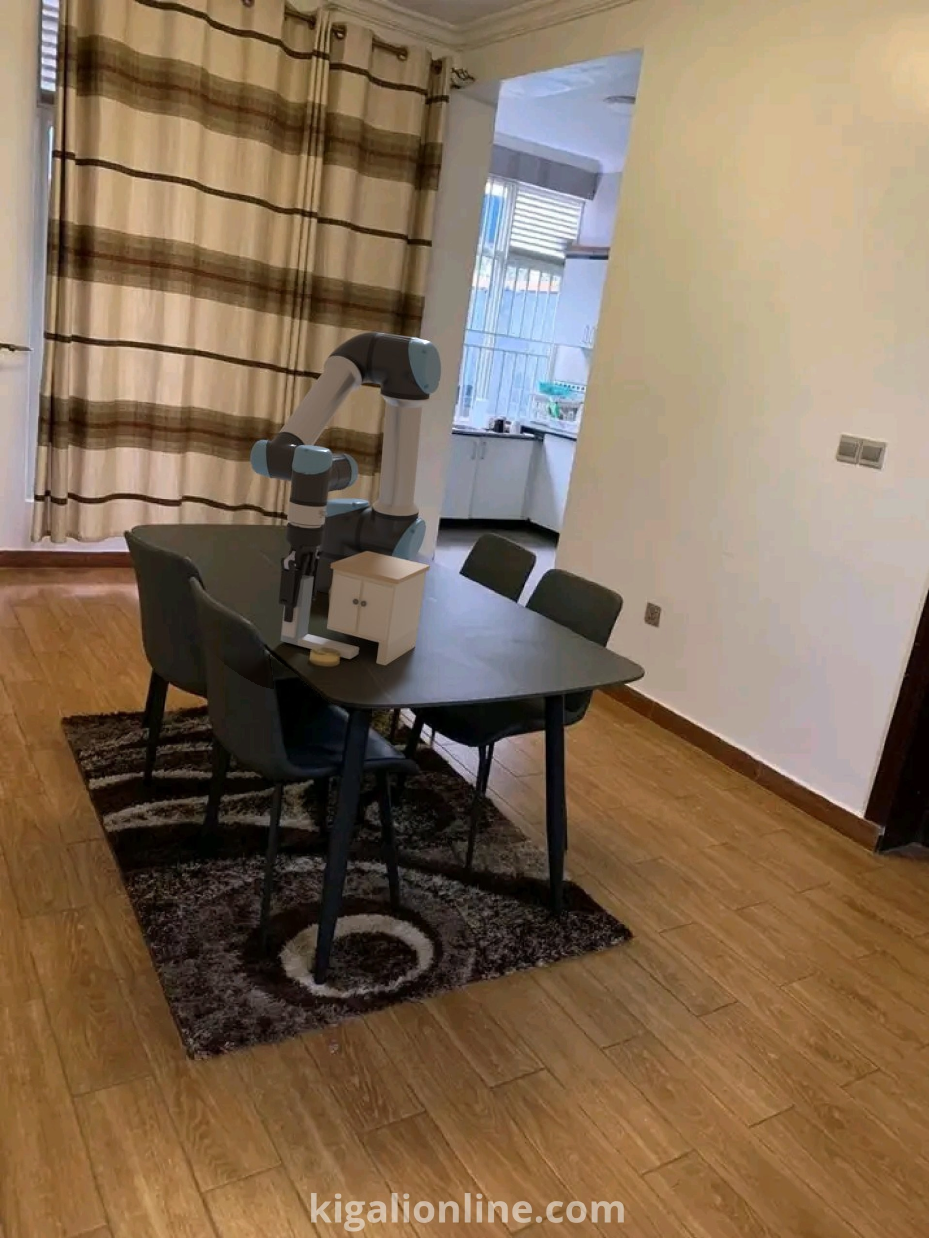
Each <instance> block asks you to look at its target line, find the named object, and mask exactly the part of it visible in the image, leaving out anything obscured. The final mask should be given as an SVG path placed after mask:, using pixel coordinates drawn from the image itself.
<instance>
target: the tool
mask: <svg viewBox="0 0 929 1238" xmlns="http://www.w3.org/2000/svg"><path fill="white" fill-rule="evenodd" d="M313 579H314V577H313V576H307V575H303V576H302V579H301V582H300V590H299V595H298V600H297V605H296V607H298V617H297V626H296V636H295V638H292V637H288V636H284V635H282V630H283V620H284V610H285V606H284V605H283V611H282V612H283V613H282V622H281V633H280V642H285V643H288V644H292V645H295V646H299V647H303V648H305V649H306V648H307V649H310V650H312V649H314V648H330V649H334V650H337V651H339V652H340V658H344V659H348V660H351V659H352V658H354V657H356V656H357V655H359V651H360V647H359V646H355V645H351V644H348V643H345V642H340V641H336V640H333V639H328V638H325V637H321V636H318V635H314V634H309V624H310V616H311V607H312V602H311V597H312V588H313ZM312 598H313V597H312Z"/></svg>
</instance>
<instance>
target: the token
mask: <svg viewBox="0 0 929 1238" xmlns="http://www.w3.org/2000/svg"><path fill="white" fill-rule="evenodd" d="M340 661H341V657H340V652H339V651H337V650H334V649H330V648H314V649H310V651H309V662H310V663H311V664H313V665H315V666H317V667H325V668H326V667H336V666H338V665H340Z"/></svg>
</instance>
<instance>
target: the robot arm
mask: <svg viewBox="0 0 929 1238" xmlns="http://www.w3.org/2000/svg"><path fill="white" fill-rule="evenodd" d="M441 364H442V362H441V357H440V353H439V351H438V349H437V347H436V345H435V344H434V343H433V342H432V341H429V340H426V339H422V338H418V337H416V336H415V337H414V336H407V335H398V334H391V333H383V332H379V331H369V332H368V331H366V332H362V333H360V334H357V335H355V336H352V337H350V338H349V339H347V340H345V341H344V342H343V343H341V344H339V346H338V347H336V348H335V349H334V350H333V351H332V352H331V353H330V355H329V356H328V357H327V359H326V360H325V361H324V363H323V372H322V373H321V374H320V376H319V377H318V378H317V380H316V381H315V382H314V384H313V385H312V386H311V387H310V389H309V390H308V392H307V393H306V395H305V396H304V397H303V399H302V400H301V401H300V403H299V404H298V405H297V407H296V409H295V410H294V411H293V413H292V414H291V415H290V416H289V418H288V419H287V421H286V422H284V425H283V426H282V428H281V429H280V430H279V431H278V433H277V434H276V435H275V436H274V438H273V439H272V440H270V439H260V440H257V441H256V442H255V443H254V445H253V447H252V449H251V451H250V456H249V457H250V458H249V459H250V462H249V463H250V465H251V468H252V470H253V472H254V473H255V474H257V475H260V476H263V477H267V478H269V479H275V480H282V481H285V482H290V489H289V490H290V491H289V493H290V494H289V501H288V509H287V516H286V517H287V518H286V519H287V520H288V523H286V528H285V541H287V543H289V544H290V548H289V551H288V556H287V557H286V558H285V557H281V559H280V567H281V568H280V569H281V571H280V583H279V584H280V585H279V597H278V604H279V605H281V606H283V607H284V606H285V610H284V609H283V610H284V620H283V619H282V620H283V630H282V629H281V631H282V635H284V636H288V637H292V638H295V636H296V626H297V617H298V607H296V605H297V600H298V595H299V590H300V582H301V579H302V576H303V575H307V576H313V577H314V579H313V588H312V597H311V603H314V602H315V601H316V596H317V592H321V593H325V594H329V590H330V588H331V585H332V580H333V571H334V569H332V568H331V563H334V562H336V561H339V560H342V559H345V558H348V557H351V556H354V555H357V554H360V553H362V552H365V551H370V552H374V553H378V554H383V555H387V556H391V557H395V558H400V559H404V560H408V561H412V560H414V558H416V556H417V555H418V553H419V551H420V549H421V547H422V545H423V542H424V539H425V535H426V529H427V525H426V521H425V519H423V518H422V517H419V511H420V509H419V508H420V507H418V506H417V505H416V504H415V502H414V500H415V499H414V498H415V488H416V480H417V479H416V477H417V476H416V475H417V467H418V466H417V465H418V456H419V455H418V454H419V446H420V445H419V444H420V443H419V442H420V432H421V425H422V424H421V423H422V421H421V420H422V412H423V406H424V404H426V403H427V402H428V401H429V400H430V395H431V394H433V393H435V392H436V391H437V390H438V388H439V385H440V381H441V377H442V376H441V374H442V366H441ZM366 383H372V384H376V385H380V390H379V391H380V393H379V395H380V396H381V397H382V398H383V400H384V401H385V410H384V411H385V412H384V413H385V414H384V424H383V425H384V427H383V439H382V452H381V453H382V454H381V464H380V465H381V467H380V476H379V477H380V479H379V492H378V493H379V494H378V499H377V500H376V501H374V502H373V503H372V505H371V504H370V501H369V500H366V499H361V498H348V497H347V498H332V499H328V498H329V492H334V491H341V490H342V491H343V490H345V489H347V488H349V487H351V486H353V485H354V484H355V483H356V481H357V480H358V477H359V465H358V463H357V461H356V460H355V458H354V457H352V456H351V455H350V454H348V453H343V452H334V453H332V450H331V449H329V448H326V447H323V446H319V445H318V446H317V445H315V444H316V442H317V440H318V439H319V437H320V436H321V435H322V433H323V432H324V430H325V429H326V428H327V426H328V425H329V423H330V422H331V421H332V419H333V418H334V416H336V415H335V414H336V413H337V412H338V410H339V409H340V408H341V406H342V405H343V403H344V402H345V401H346V399H347V398H348V397H349V395H350V394H351V392H355V391H356V390H358V389H360V387H361V385H363V384H366ZM314 597H315V598H314Z"/></svg>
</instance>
